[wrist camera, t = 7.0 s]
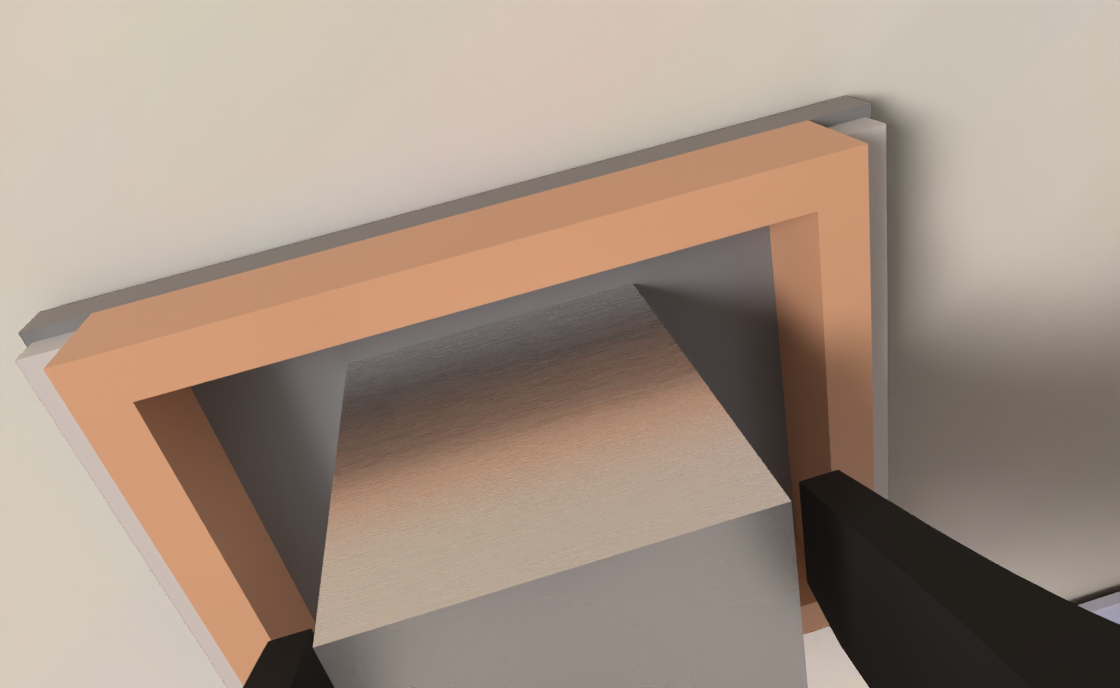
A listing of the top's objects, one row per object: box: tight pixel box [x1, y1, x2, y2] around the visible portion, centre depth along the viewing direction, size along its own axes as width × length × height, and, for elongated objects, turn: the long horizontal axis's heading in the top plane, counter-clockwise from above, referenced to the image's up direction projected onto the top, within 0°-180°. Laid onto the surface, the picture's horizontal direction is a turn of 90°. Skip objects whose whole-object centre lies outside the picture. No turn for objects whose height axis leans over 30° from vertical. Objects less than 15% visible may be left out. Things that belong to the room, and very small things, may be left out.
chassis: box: [15, 96, 889, 688], centre depth 14 cm, size 10×14×3 cm
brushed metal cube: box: [313, 283, 808, 688], centre depth 12 cm, size 6×5×6 cm
